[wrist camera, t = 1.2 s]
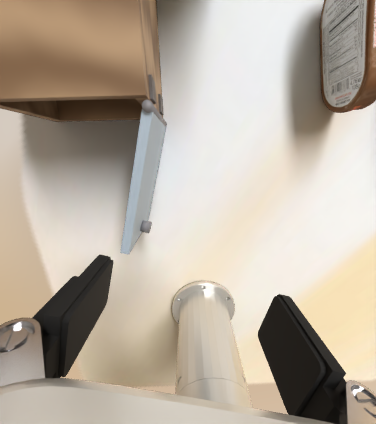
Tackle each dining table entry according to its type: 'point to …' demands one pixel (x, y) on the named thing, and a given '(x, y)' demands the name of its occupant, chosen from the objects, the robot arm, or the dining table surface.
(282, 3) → the dining table surface
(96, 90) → the cabinet
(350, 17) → the tin
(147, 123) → the door
